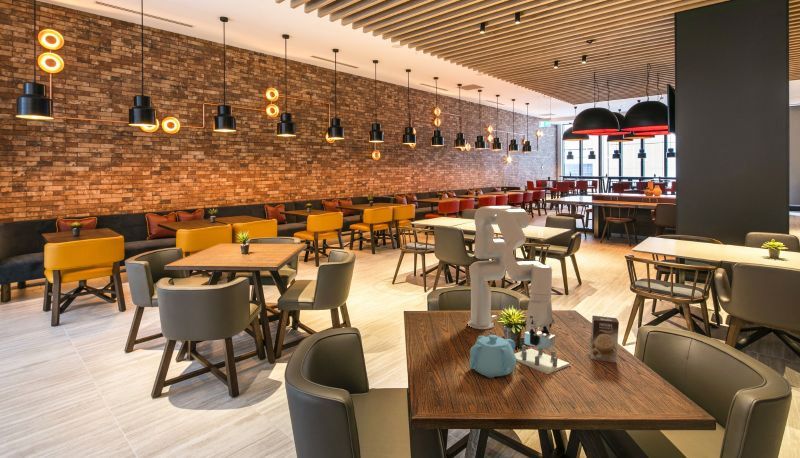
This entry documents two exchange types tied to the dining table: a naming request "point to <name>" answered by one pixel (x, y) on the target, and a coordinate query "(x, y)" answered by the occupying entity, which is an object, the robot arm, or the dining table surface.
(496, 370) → the decorative pot
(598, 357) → the coffee box
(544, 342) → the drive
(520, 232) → the robot arm
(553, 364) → the pin tray
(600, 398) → the dining table surface
